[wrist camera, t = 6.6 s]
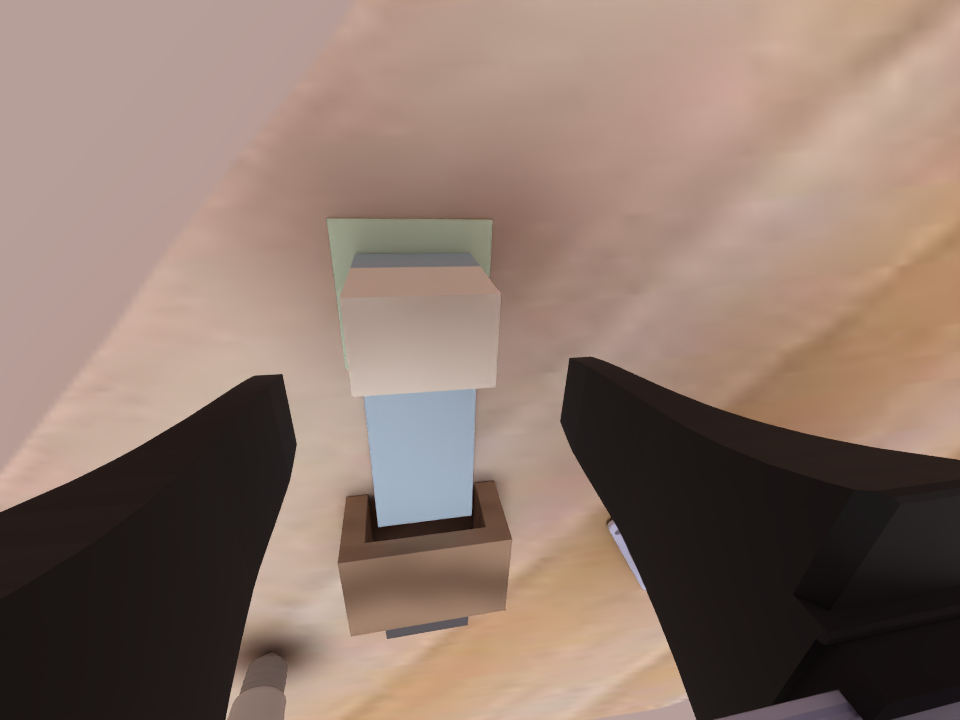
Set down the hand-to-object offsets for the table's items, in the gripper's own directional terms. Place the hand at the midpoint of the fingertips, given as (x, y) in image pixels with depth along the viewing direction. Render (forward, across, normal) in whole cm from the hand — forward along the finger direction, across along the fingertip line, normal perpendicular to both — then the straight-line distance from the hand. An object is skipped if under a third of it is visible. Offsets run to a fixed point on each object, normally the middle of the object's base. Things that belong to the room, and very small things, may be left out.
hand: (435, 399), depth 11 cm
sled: (+10, 0, +5) cm, 11 cm away
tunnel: (+10, 0, +15) cm, 18 cm away
